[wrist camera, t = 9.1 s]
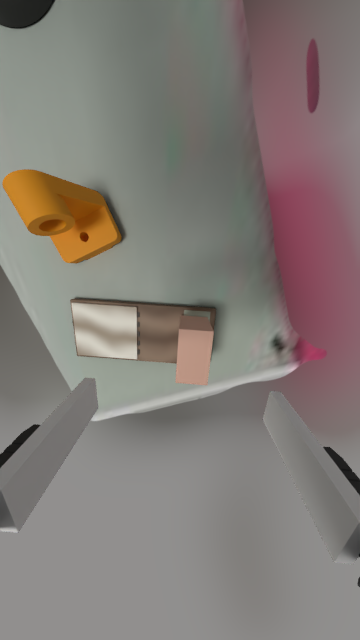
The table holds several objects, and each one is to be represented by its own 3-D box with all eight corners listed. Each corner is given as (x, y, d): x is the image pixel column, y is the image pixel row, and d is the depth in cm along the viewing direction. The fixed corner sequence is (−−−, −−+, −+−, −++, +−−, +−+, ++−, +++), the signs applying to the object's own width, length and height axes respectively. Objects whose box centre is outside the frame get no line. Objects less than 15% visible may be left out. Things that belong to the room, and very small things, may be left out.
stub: (181, 315, 32) (178, 328, 24) (207, 317, 31) (213, 331, 24) (178, 357, 34) (175, 382, 26) (202, 359, 34) (207, 385, 26)
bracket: (75, 265, 32) (11, 261, 20) (54, 226, 30) (-29, 197, 18) (125, 241, 30) (86, 221, 19) (105, 198, 28) (49, 148, 17)
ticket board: (75, 298, 33) (68, 300, 31) (214, 307, 33) (216, 310, 31) (81, 352, 37) (75, 356, 35) (208, 362, 36) (209, 367, 34)
